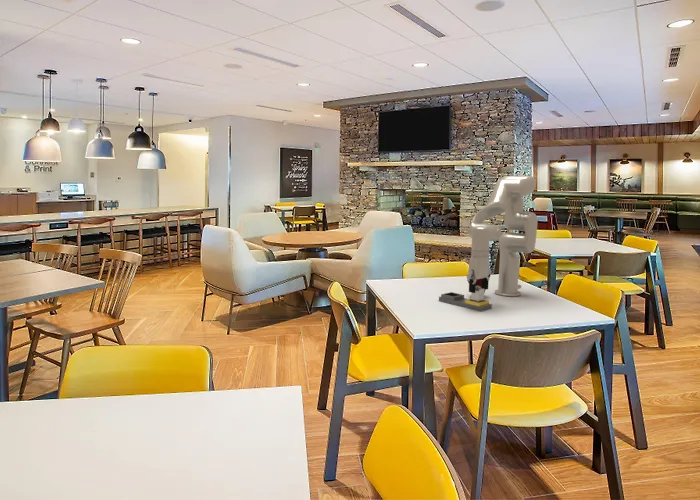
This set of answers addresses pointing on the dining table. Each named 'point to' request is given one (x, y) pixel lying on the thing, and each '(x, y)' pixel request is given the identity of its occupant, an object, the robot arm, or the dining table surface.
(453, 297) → the grey flat elongated piece
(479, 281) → the mug
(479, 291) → the knobbed metal block
